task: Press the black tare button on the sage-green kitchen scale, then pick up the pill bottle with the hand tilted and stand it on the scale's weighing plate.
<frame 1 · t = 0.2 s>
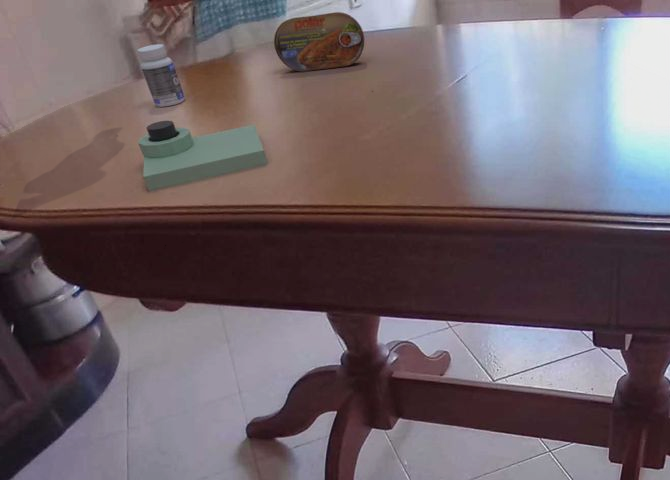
scale: (207, 163, 88), on the table
tare button: (162, 131, 87), point 4 cm above the table, slide at 0.1 cm
pill bottle: (171, 103, 113), on the table
tin: (326, 68, 121), on the table
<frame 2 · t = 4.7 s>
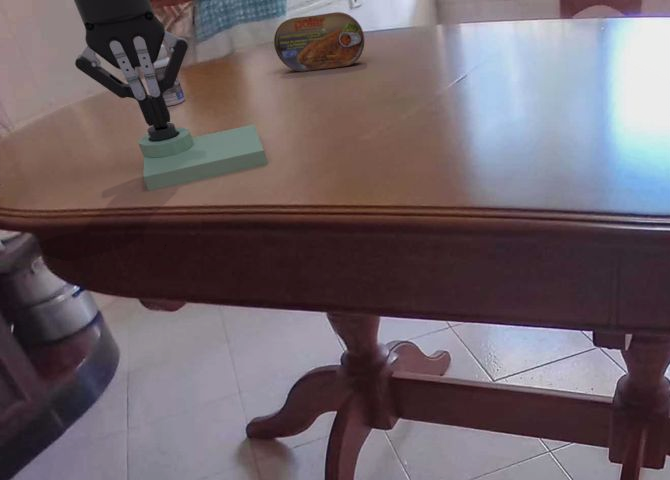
hand: (161, 127, 87), 5 cm above the table, tool pointing down, fingers closed
tare button: (163, 134, 87), point 4 cm above the table, slide at -0.1 cm, touching gripper
everything else where it was.
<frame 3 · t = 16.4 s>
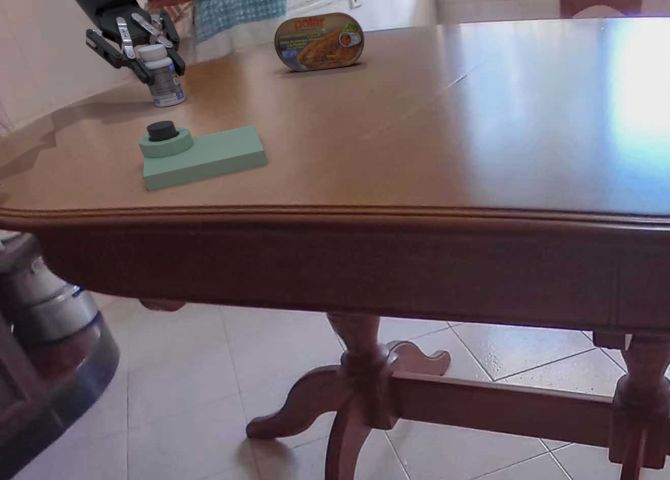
hand: (167, 77, 109), 4 cm above the table, tool tilted 45°, fingers closed on pill bottle, 4 cm apart
tare button: (162, 131, 87), point 4 cm above the table, slide at 0.1 cm
pill bottle: (171, 103, 113), on the table, touching gripper
everything else where it was.
when the fingers open (6 cm above the table, at t = 26.6 s): pill bottle stays where it is, resting on scale.
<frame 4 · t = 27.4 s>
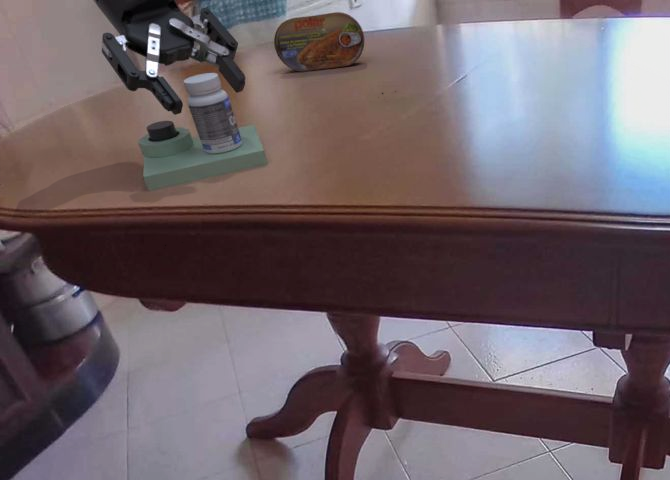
hand: (211, 98, 82), 8 cm above the table, tool tilted 45°, fingers open, 8 cm apart
pill bottle: (224, 148, 87), point 2 cm above the table, touching scale
everything else where it was.
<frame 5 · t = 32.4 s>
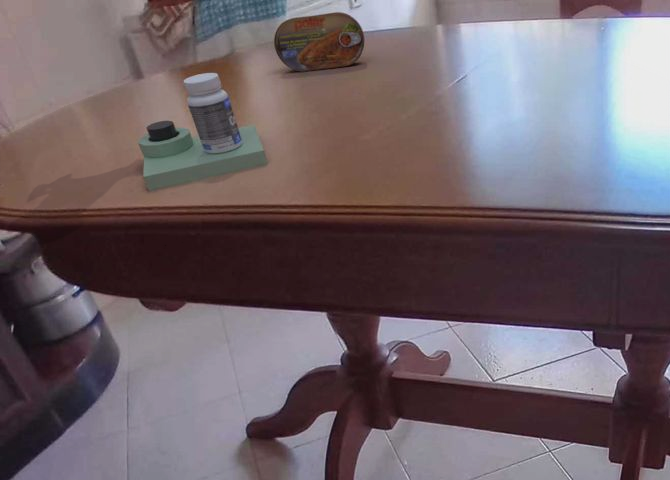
nothing on the table moved.
at the end: tare button pushed in 0.9 cm at the most during the clip, back to where it started at the end; pill bottle inside the target area on the scale (2.0 cm from its centre), point 1.7 cm above the scale's base; pill bottle tilted 0° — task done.
